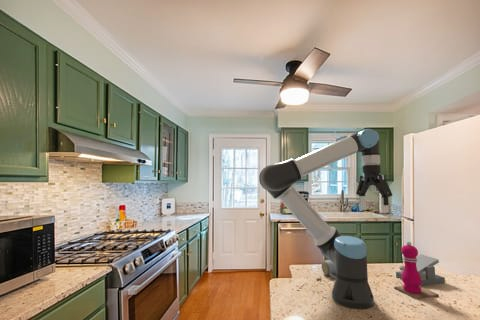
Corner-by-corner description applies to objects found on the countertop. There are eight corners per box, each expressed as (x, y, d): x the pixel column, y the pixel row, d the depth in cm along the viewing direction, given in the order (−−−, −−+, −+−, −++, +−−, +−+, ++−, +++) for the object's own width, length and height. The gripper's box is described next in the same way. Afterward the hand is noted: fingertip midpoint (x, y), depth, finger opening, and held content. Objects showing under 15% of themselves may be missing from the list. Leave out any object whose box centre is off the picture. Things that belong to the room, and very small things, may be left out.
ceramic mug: (320, 273, 134) (320, 257, 135) (335, 271, 136) (334, 256, 137) (332, 281, 124) (331, 264, 125) (347, 279, 126) (347, 263, 126)
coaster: (416, 299, 103) (416, 297, 103) (394, 288, 114) (394, 286, 114) (438, 296, 106) (438, 294, 106) (415, 286, 117) (414, 284, 117)
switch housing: (418, 286, 116) (417, 268, 117) (395, 276, 128) (394, 260, 129) (445, 283, 119) (444, 265, 120) (421, 274, 132) (419, 258, 132)
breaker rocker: (417, 278, 118) (414, 270, 118) (400, 271, 127) (397, 264, 127) (440, 264, 122) (437, 256, 122) (422, 258, 131) (419, 251, 131)
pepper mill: (426, 294, 106) (423, 243, 108) (408, 294, 106) (405, 243, 108) (415, 287, 113) (412, 239, 115) (398, 287, 113) (395, 239, 115)
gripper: (399, 162, 111) (403, 213, 109) (360, 166, 135) (362, 208, 133) (384, 162, 109) (387, 214, 107) (347, 166, 134) (349, 209, 132)
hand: (373, 211), depth 120 cm, fingers open, 13 cm apart
